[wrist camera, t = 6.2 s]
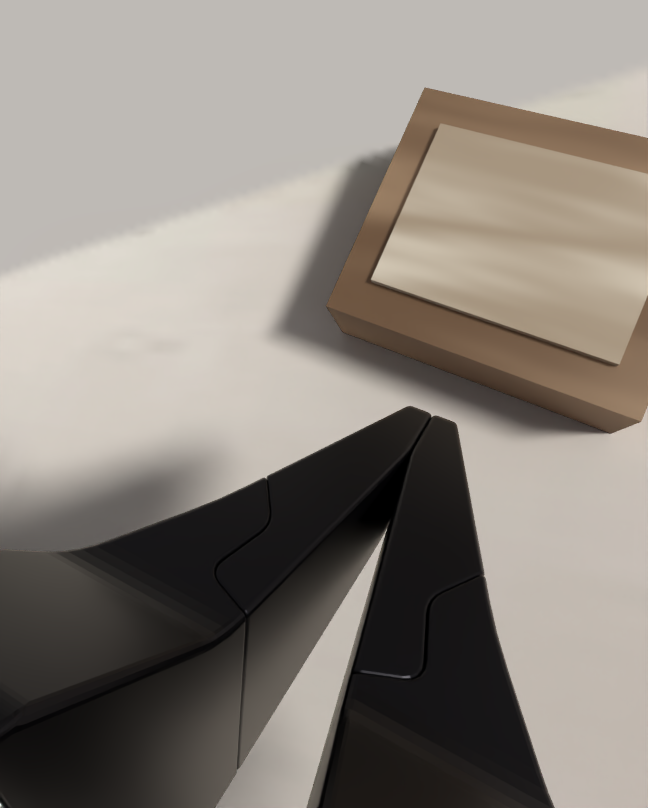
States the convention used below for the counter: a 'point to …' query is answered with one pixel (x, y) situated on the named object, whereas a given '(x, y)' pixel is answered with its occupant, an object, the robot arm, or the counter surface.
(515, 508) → the counter surface
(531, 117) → the walnut block
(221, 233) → the counter surface
